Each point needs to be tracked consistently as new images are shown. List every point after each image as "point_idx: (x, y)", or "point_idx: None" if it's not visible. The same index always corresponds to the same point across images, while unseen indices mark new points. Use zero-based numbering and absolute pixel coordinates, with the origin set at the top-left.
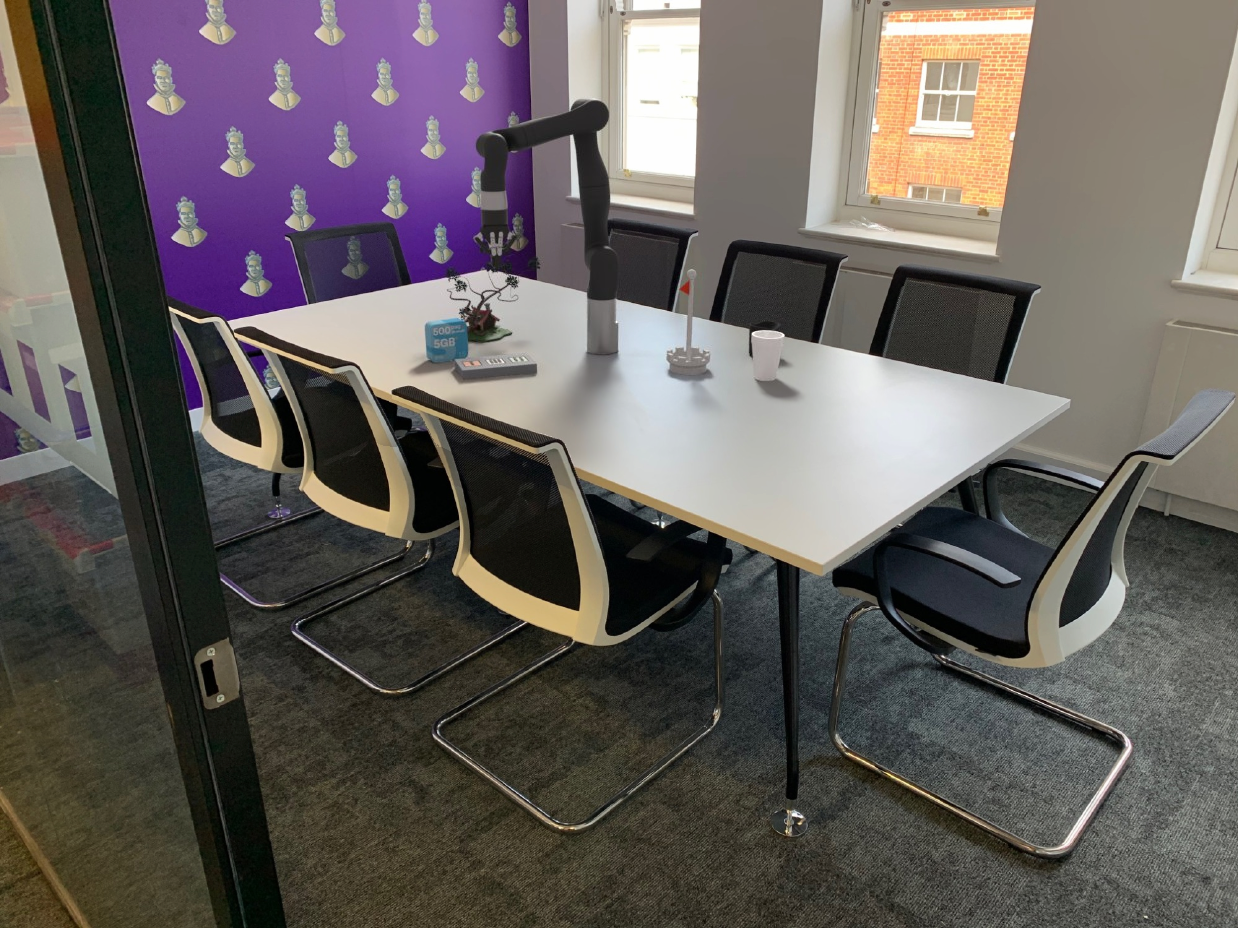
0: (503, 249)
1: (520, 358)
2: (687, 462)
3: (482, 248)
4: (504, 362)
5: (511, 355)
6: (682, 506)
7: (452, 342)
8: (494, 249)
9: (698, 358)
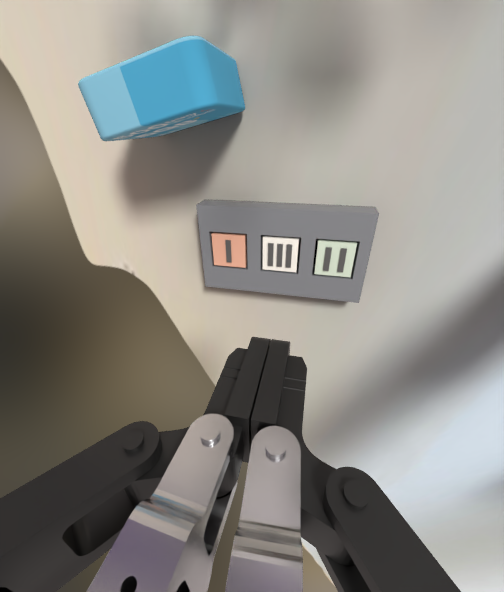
0: (320, 548)
1: (340, 259)
2: None
3: (82, 520)
4: (296, 269)
5: (332, 222)
6: (310, 552)
7: (188, 122)
8: (209, 535)
9: None
